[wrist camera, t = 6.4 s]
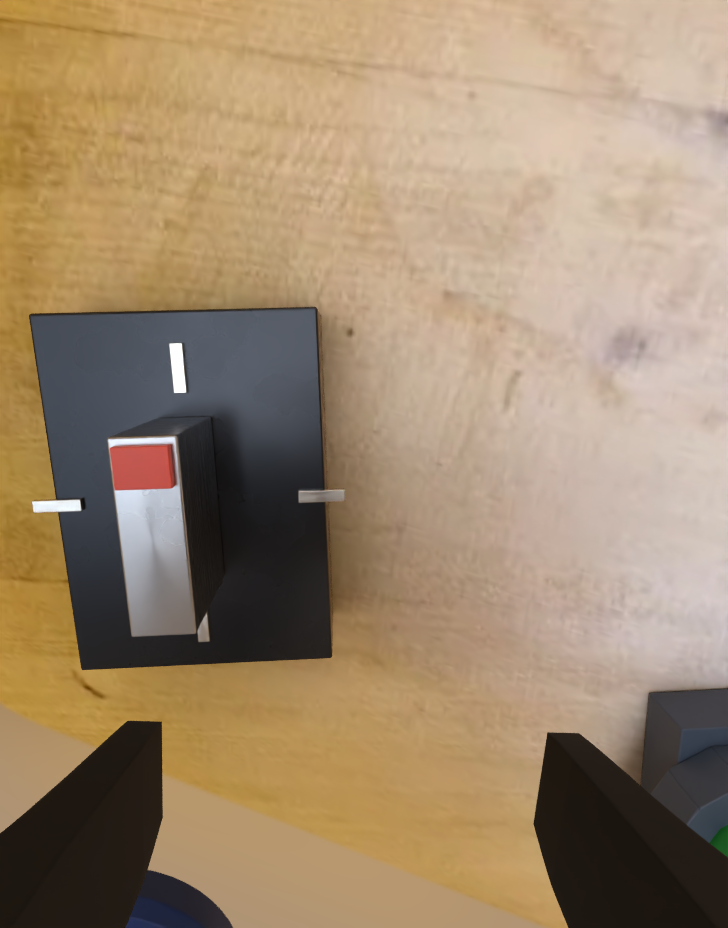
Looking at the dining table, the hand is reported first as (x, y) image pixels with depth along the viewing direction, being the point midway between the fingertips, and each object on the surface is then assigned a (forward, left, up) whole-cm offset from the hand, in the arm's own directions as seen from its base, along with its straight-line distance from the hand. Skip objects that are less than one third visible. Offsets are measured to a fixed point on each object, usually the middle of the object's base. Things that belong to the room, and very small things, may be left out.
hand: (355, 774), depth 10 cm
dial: (-5, +3, -7) cm, 9 cm away
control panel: (-5, +3, -10) cm, 12 cm away
